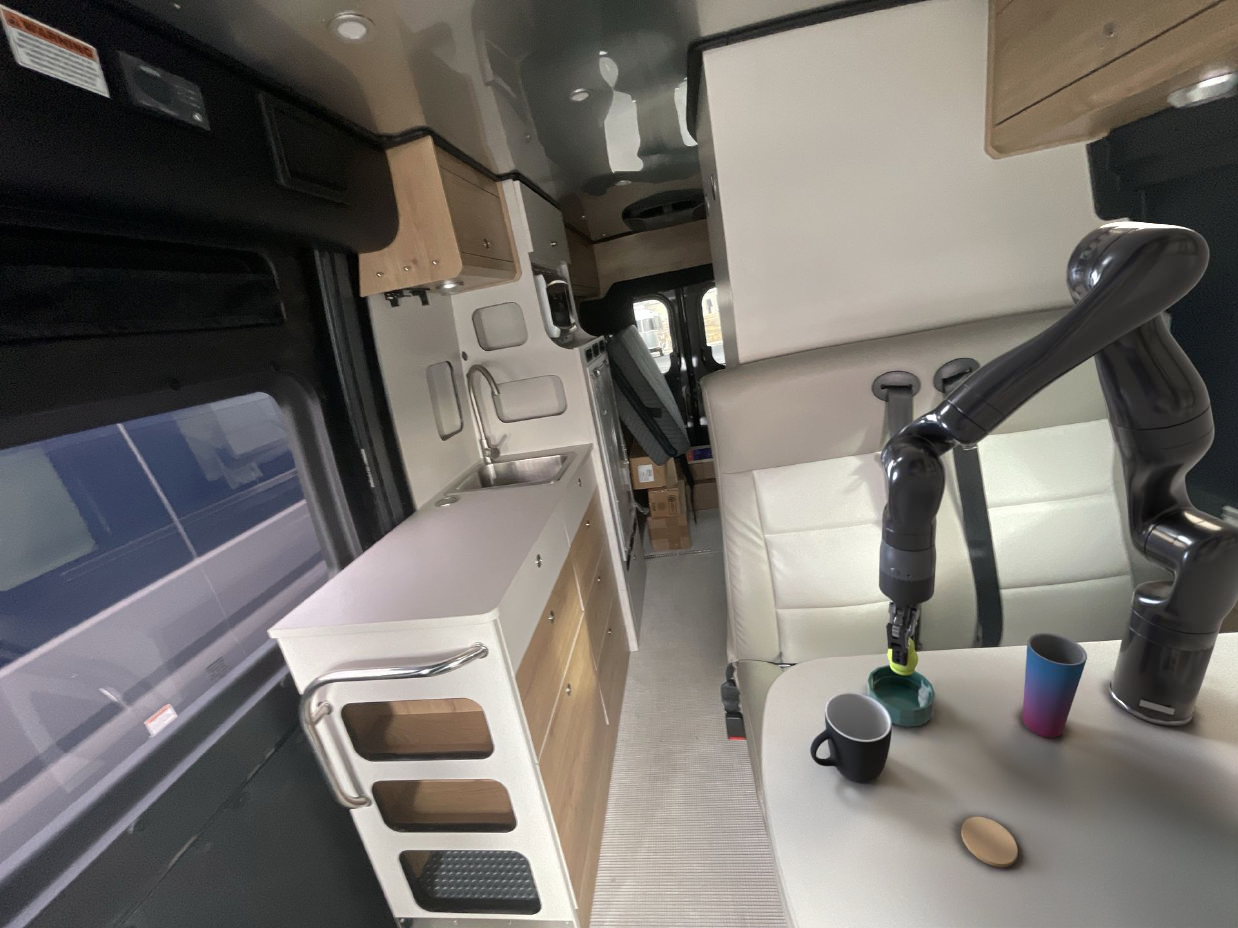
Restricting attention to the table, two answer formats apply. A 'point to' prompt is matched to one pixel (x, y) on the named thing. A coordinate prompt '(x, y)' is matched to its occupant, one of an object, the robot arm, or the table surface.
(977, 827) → the coaster
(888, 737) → the mug
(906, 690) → the bowl
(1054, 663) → the cup
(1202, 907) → the table surface
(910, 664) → the pear
